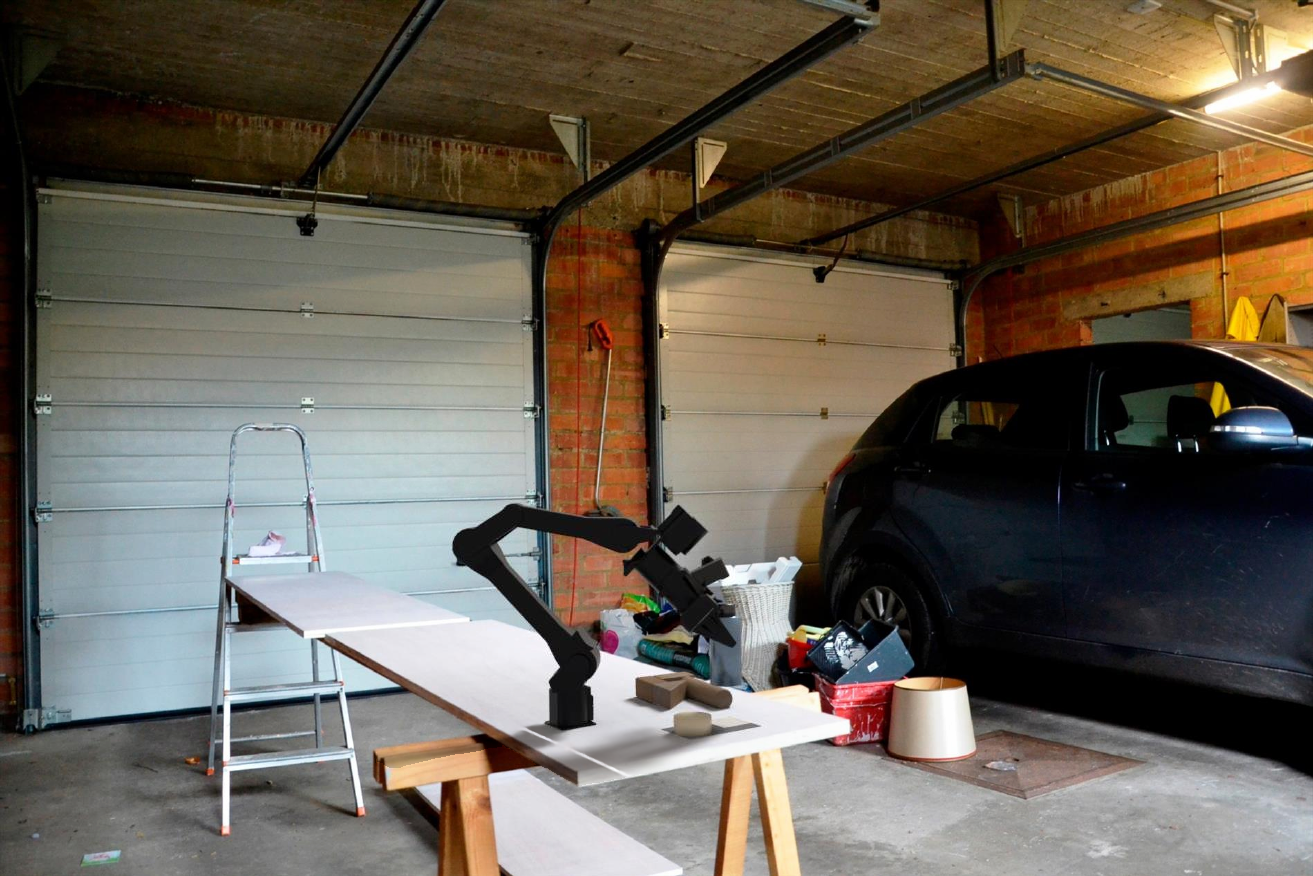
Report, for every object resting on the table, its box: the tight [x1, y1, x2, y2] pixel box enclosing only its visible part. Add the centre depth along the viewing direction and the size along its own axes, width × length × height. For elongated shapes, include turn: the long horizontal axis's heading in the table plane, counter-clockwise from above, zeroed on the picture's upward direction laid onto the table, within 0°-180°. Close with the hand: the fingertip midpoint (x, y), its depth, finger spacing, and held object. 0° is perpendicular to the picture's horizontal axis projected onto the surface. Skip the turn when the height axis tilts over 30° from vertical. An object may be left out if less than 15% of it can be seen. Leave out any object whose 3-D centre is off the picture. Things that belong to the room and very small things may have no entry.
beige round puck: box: [673, 711, 713, 737], centre depth 159 cm, size 6×6×2 cm
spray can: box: [709, 602, 743, 688], centre depth 165 cm, size 5×5×13 cm
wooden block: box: [635, 671, 734, 710], centre depth 182 cm, size 4×11×18 cm
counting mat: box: [661, 716, 761, 740], centre depth 161 cm, size 14×8×1 cm, turn 123°
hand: (733, 642), depth 165 cm, fingers closed on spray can, 5 cm apart
